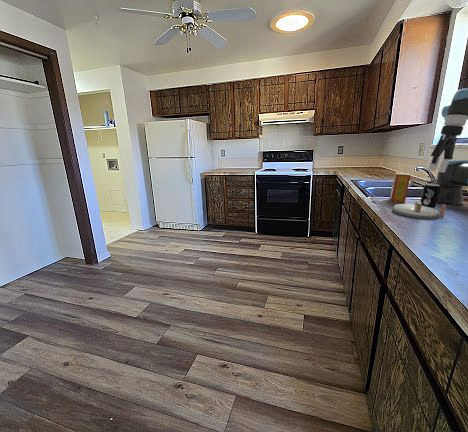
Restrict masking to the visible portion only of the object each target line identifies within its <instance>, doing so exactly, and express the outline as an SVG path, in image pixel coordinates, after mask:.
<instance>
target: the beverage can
mask: <svg viewBox="0 0 468 432" xmlns="http://www.w3.org/2000/svg"><path fill="white" fill-rule="evenodd" d="M439 191H440V185H438V184H436V183H425V185H424V186H423V189H422V192H421V193H422V194H421V198H420V202H421V203H422V206H426V207H430V208H434V209H436V206H437V204H438V203H437V199H438V195H439Z"/></svg>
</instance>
